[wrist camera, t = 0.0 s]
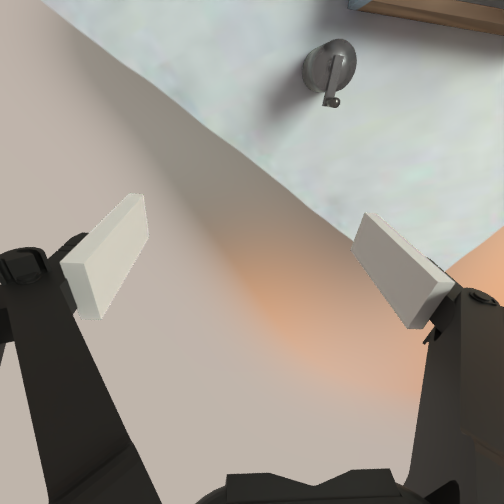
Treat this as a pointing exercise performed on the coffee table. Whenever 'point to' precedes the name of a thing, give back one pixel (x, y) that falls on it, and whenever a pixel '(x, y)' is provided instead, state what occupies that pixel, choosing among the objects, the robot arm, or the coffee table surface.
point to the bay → (438, 13)
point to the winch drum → (330, 69)
